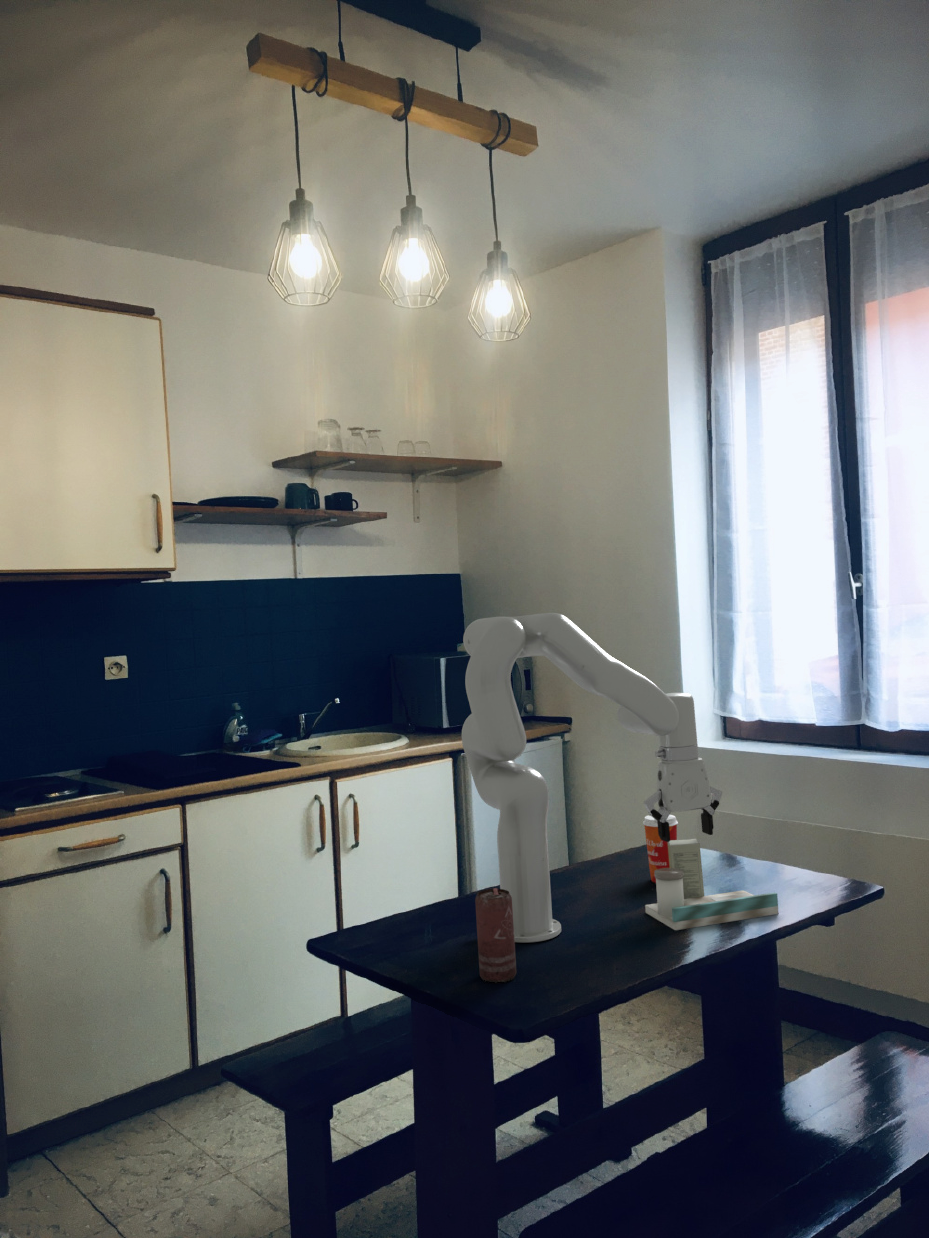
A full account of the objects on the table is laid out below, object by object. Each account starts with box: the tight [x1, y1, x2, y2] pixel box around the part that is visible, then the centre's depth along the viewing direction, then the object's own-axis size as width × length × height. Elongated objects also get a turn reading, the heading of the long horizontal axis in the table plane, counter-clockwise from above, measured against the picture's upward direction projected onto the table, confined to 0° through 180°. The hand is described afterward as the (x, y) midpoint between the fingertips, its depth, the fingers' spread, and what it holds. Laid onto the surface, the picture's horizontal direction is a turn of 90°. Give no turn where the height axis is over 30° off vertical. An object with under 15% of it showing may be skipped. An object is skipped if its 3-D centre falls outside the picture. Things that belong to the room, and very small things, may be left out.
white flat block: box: [644, 890, 779, 931], centre depth 182 cm, size 22×12×4 cm, turn 106°
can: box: [474, 887, 517, 984], centre depth 156 cm, size 6×6×14 cm
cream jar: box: [654, 868, 684, 917], centre depth 179 cm, size 5×5×8 cm
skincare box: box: [667, 838, 705, 899], centre depth 191 cm, size 6×4×12 cm
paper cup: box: [642, 814, 679, 884], centre depth 207 cm, size 8×8×14 cm
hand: (686, 837), depth 191 cm, fingers open, 9 cm apart
